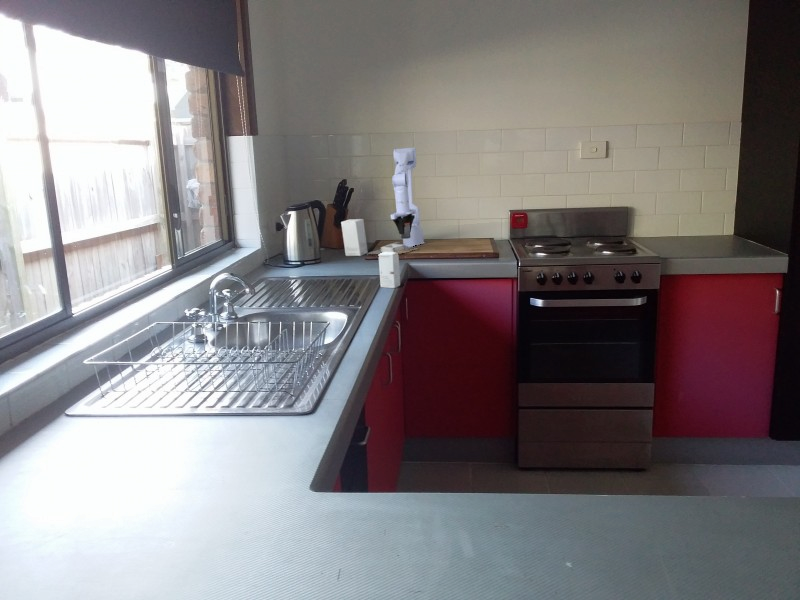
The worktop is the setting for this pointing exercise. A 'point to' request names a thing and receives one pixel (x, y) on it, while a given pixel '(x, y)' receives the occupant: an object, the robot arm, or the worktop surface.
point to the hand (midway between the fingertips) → (405, 233)
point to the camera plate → (392, 248)
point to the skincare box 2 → (389, 269)
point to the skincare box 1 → (354, 237)
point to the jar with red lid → (406, 231)
